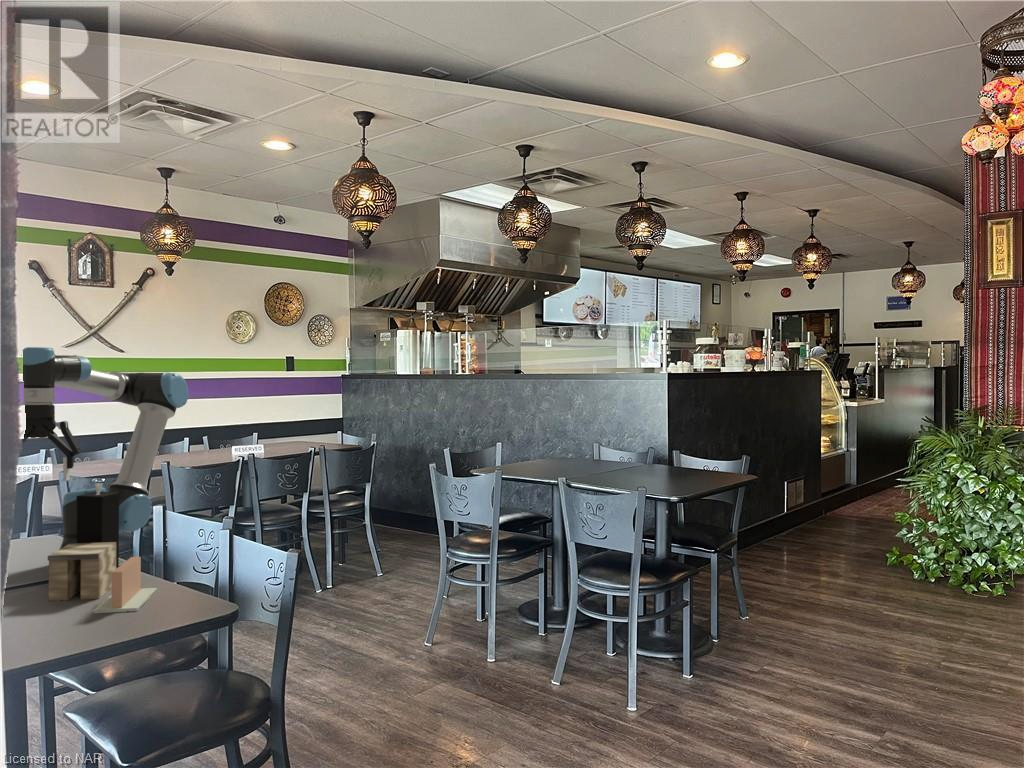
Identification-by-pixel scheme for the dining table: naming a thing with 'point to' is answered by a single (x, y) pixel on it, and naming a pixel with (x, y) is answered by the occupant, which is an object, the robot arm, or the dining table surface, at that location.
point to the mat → (130, 605)
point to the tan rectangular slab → (126, 582)
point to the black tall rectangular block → (98, 518)
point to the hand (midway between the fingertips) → (38, 481)
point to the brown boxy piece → (81, 570)
